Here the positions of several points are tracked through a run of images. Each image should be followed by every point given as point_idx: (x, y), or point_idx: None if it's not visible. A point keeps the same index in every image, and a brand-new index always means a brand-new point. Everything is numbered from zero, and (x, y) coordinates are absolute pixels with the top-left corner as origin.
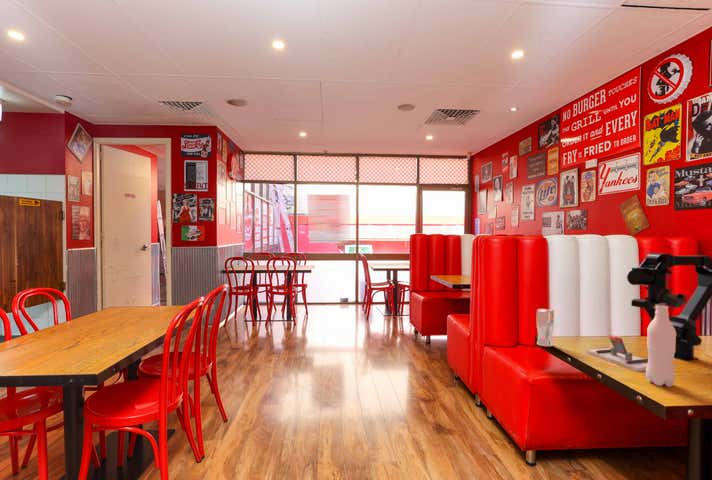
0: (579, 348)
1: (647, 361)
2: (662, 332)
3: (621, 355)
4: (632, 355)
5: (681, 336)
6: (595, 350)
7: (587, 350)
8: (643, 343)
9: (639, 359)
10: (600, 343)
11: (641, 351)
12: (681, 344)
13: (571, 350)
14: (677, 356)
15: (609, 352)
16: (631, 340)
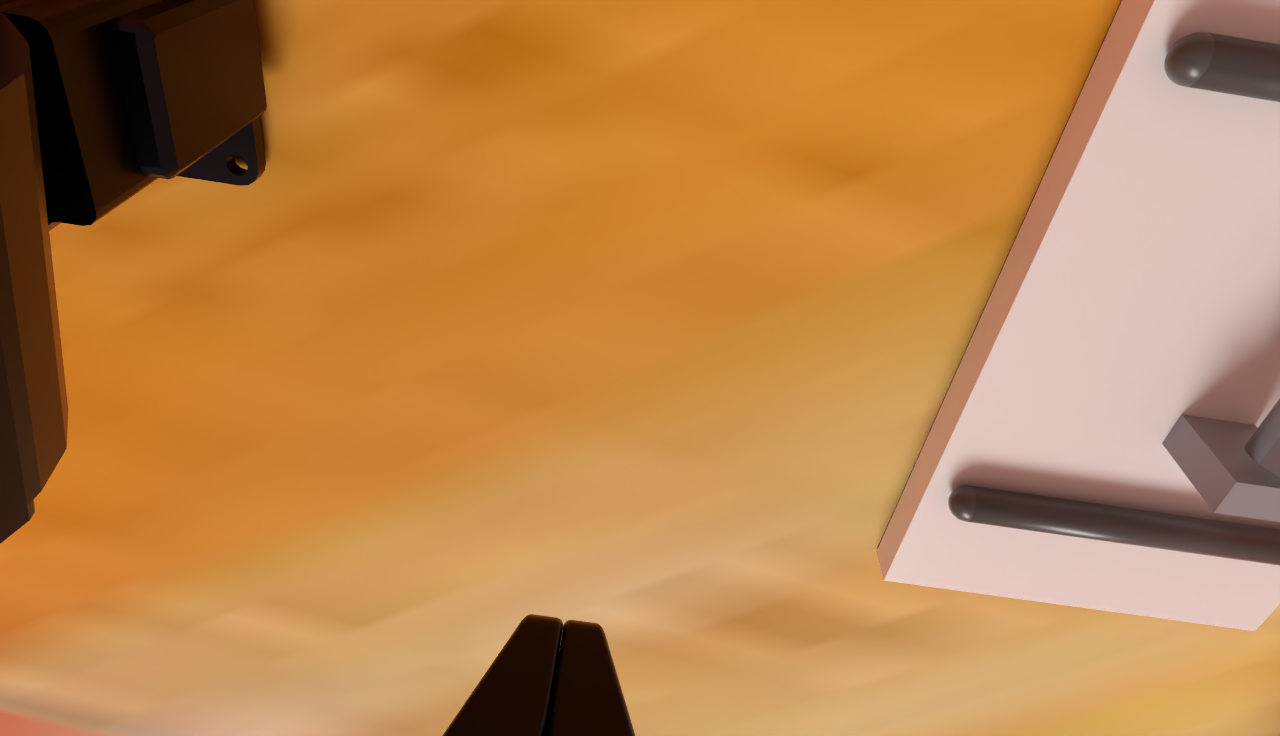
0: (1090, 688)
1: (1257, 41)
2: None
3: (1155, 382)
4: (1003, 326)
5: (10, 56)
6: (1184, 591)
7: (1261, 621)
8: (111, 553)
9: (1167, 179)
10: (651, 695)
11: (484, 413)
12: (75, 48)
13: (1262, 685)
14: (256, 40)
15: (1131, 499)
16: (159, 642)
